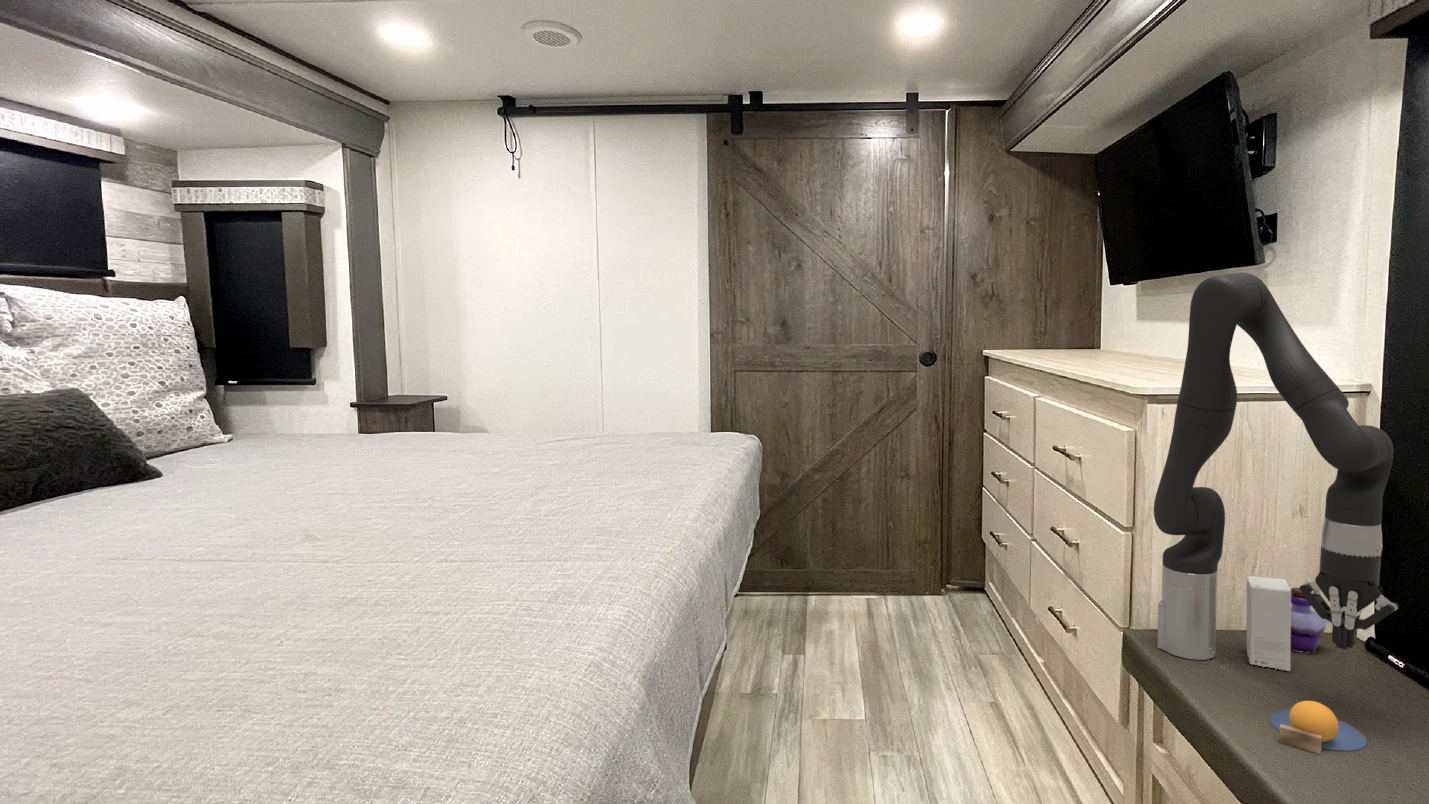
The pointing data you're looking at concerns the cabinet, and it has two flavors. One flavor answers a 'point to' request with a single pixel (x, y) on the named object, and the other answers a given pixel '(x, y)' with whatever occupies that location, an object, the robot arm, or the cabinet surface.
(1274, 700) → the cabinet surface
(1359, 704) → the cabinet surface
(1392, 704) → the cabinet surface
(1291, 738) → the wall
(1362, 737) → the disc
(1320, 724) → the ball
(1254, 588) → the skincare box
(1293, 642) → the potion bottle
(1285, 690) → the cabinet surface
